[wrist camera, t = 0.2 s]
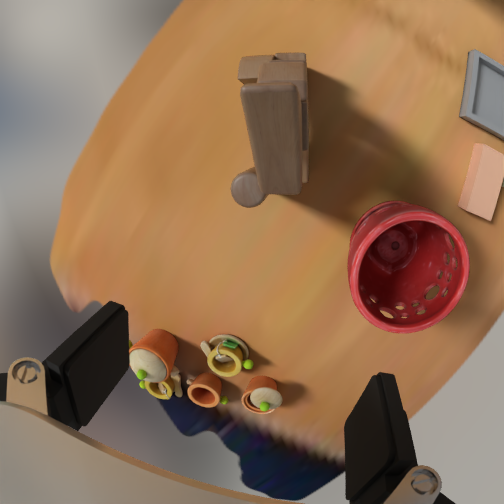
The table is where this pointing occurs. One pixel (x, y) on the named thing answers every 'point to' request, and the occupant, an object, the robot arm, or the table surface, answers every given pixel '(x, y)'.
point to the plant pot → (405, 266)
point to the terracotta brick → (483, 181)
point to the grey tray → (484, 93)
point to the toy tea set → (206, 384)
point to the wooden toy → (274, 126)
